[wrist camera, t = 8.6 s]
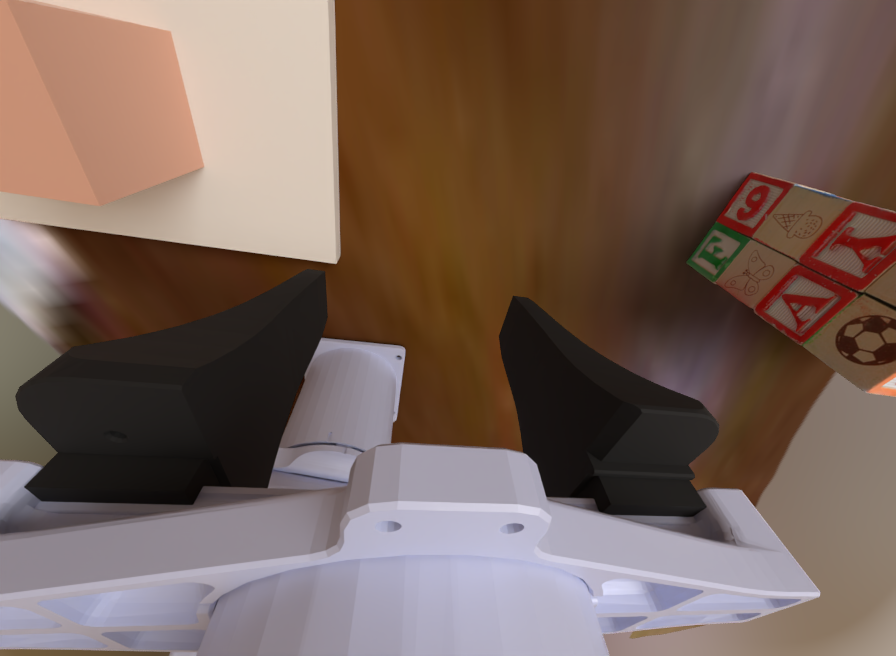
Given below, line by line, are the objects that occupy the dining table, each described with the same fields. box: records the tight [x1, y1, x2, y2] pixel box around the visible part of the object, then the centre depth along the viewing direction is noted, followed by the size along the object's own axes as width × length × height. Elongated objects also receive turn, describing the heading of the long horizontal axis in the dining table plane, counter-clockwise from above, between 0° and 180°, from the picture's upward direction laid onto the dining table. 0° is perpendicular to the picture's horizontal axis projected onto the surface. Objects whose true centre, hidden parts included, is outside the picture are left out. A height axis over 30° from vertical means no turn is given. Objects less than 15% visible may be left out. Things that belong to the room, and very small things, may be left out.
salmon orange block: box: [0, 0, 204, 206], centre depth 12 cm, size 5×5×7 cm
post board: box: [0, 0, 340, 264], centre depth 13 cm, size 14×18×7 cm
